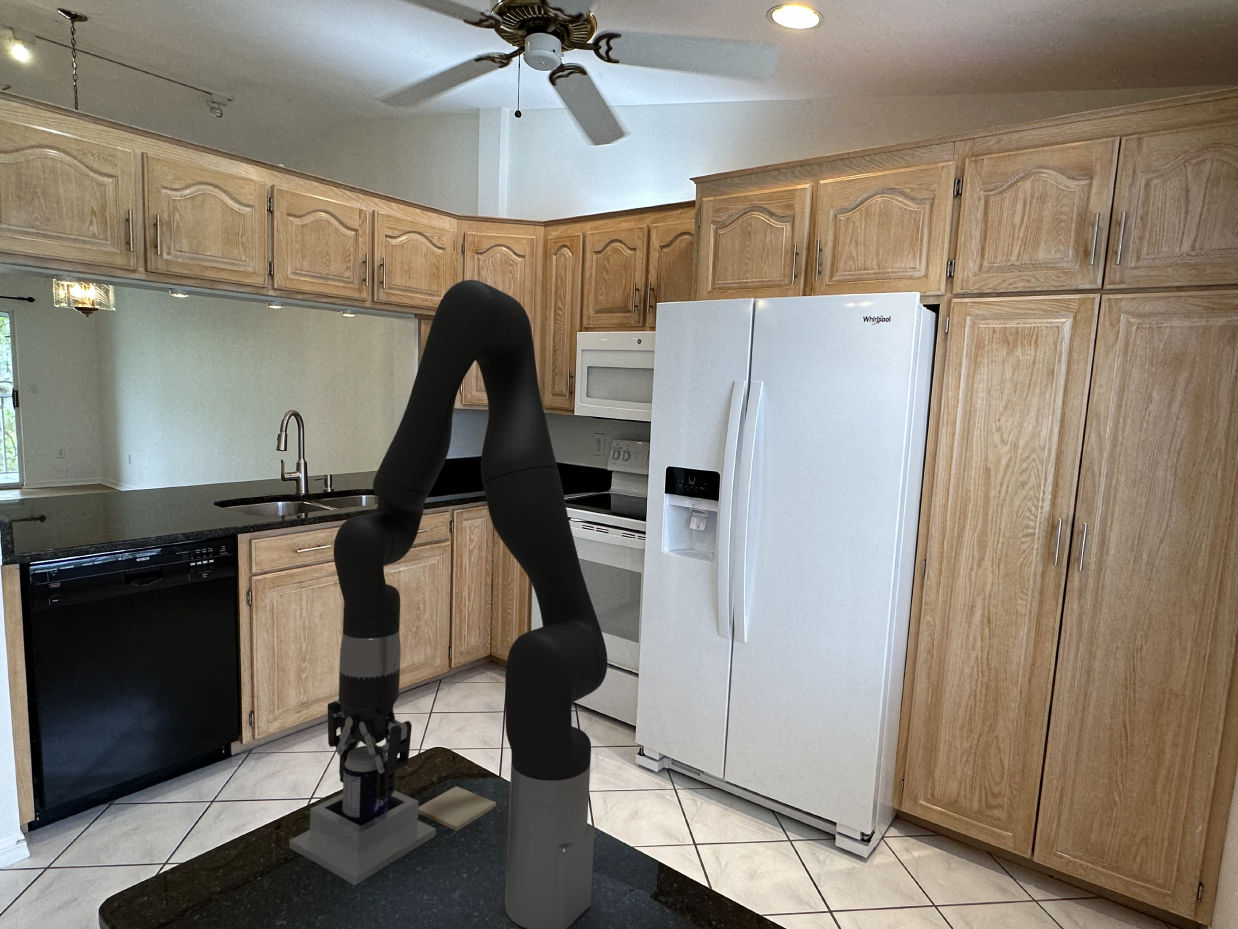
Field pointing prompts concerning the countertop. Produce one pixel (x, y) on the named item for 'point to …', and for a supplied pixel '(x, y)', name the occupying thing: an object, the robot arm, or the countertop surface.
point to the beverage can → (361, 787)
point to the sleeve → (361, 838)
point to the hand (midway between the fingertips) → (365, 788)
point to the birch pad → (456, 808)
